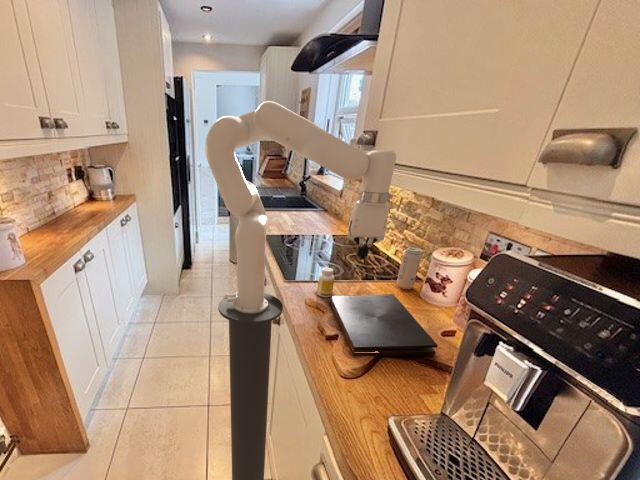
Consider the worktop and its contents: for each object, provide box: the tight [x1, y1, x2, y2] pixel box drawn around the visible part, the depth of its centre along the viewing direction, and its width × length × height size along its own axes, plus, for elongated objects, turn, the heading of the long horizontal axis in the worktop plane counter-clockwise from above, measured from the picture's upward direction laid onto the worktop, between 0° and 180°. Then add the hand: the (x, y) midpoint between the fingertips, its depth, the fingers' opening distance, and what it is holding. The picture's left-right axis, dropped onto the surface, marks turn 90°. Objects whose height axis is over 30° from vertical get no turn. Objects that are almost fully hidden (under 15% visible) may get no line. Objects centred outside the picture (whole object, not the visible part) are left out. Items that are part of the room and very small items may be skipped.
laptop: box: [329, 298, 437, 358], centre depth 98 cm, size 21×30×2 cm
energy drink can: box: [396, 246, 423, 290], centre depth 121 cm, size 6×6×15 cm
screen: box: [330, 293, 439, 350], centre depth 98 cm, size 21×30×1 cm
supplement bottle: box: [316, 267, 335, 298], centre depth 117 cm, size 5×5×10 cm
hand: (361, 258), depth 102 cm, fingers closed
